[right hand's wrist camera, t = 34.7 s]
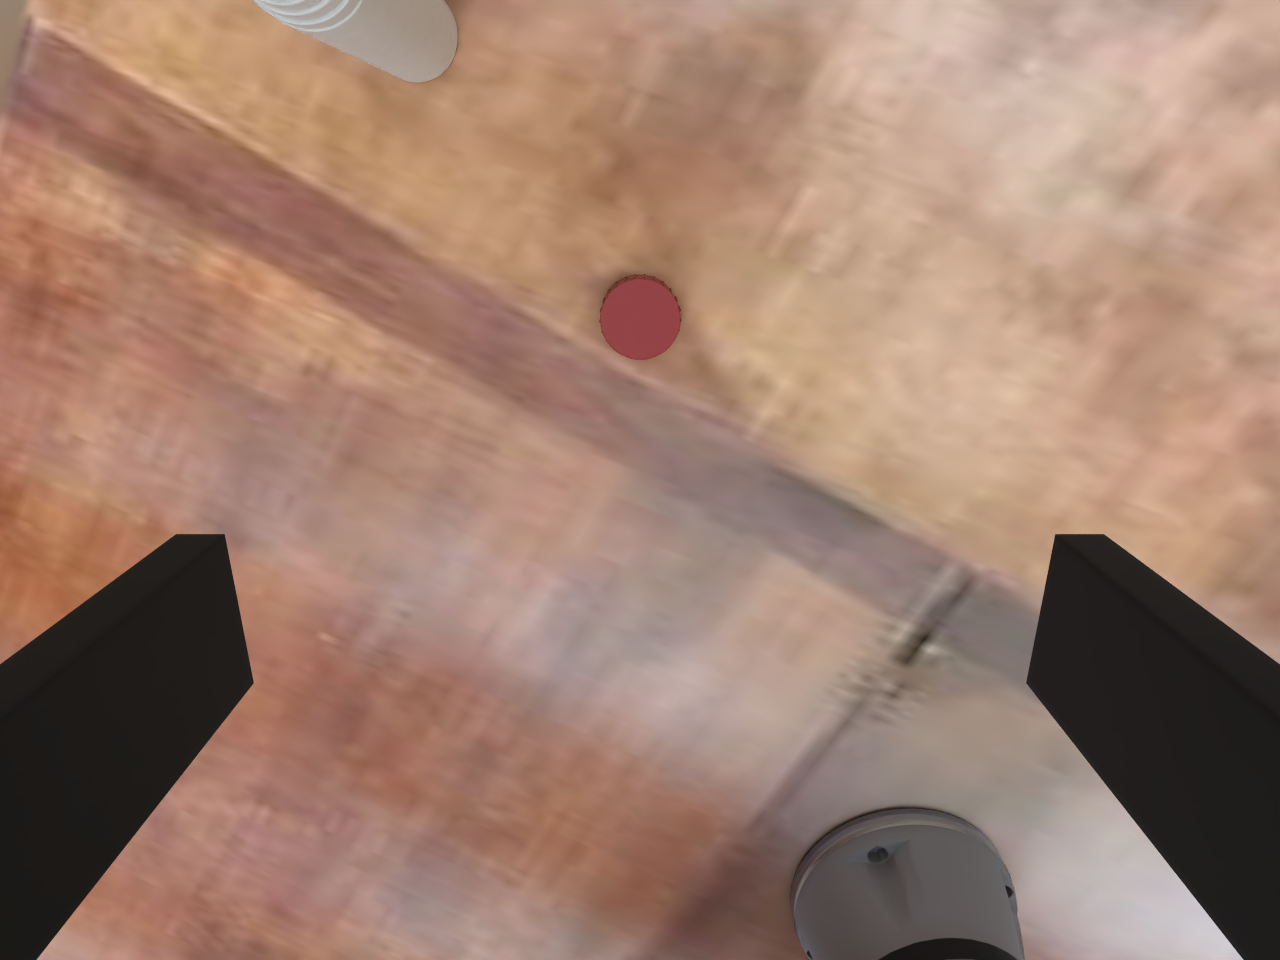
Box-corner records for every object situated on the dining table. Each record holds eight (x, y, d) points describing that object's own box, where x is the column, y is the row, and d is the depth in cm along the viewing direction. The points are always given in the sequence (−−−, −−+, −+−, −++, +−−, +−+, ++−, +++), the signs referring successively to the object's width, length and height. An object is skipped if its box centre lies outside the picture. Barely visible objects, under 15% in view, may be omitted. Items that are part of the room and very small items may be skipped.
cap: (656, 367, 44) (657, 374, 42) (587, 330, 43) (585, 337, 41) (694, 297, 43) (696, 302, 41) (623, 259, 42) (622, 262, 40)
